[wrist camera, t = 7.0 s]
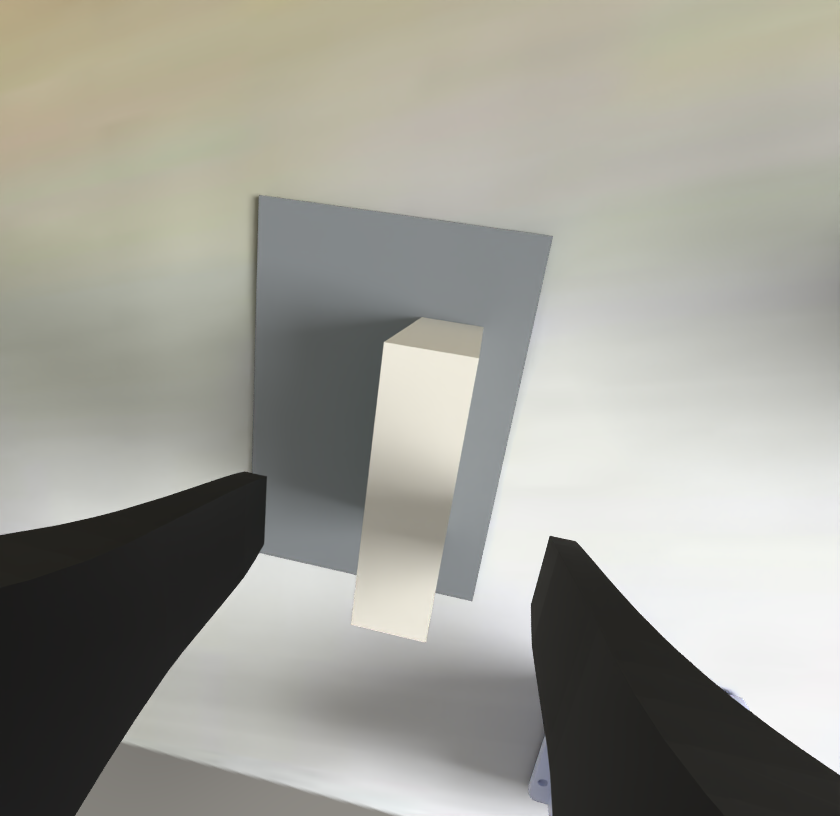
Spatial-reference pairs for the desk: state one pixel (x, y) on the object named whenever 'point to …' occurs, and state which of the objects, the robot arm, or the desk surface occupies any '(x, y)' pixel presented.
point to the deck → (413, 473)
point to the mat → (377, 365)
